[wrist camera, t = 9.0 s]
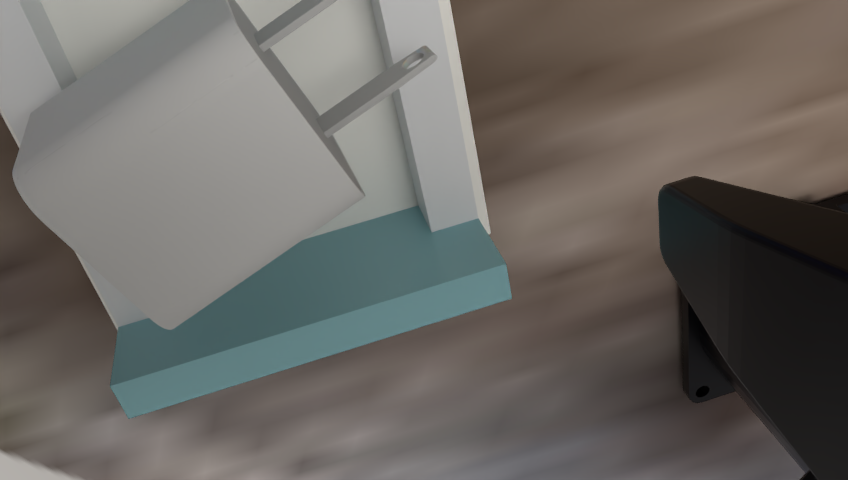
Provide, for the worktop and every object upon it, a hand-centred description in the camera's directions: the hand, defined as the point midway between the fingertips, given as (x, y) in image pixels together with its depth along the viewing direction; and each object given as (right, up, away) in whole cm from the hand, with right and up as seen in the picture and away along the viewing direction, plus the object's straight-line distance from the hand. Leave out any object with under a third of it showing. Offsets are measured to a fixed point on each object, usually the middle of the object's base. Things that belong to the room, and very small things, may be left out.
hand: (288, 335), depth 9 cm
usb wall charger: (-2, +4, +8) cm, 9 cm away
